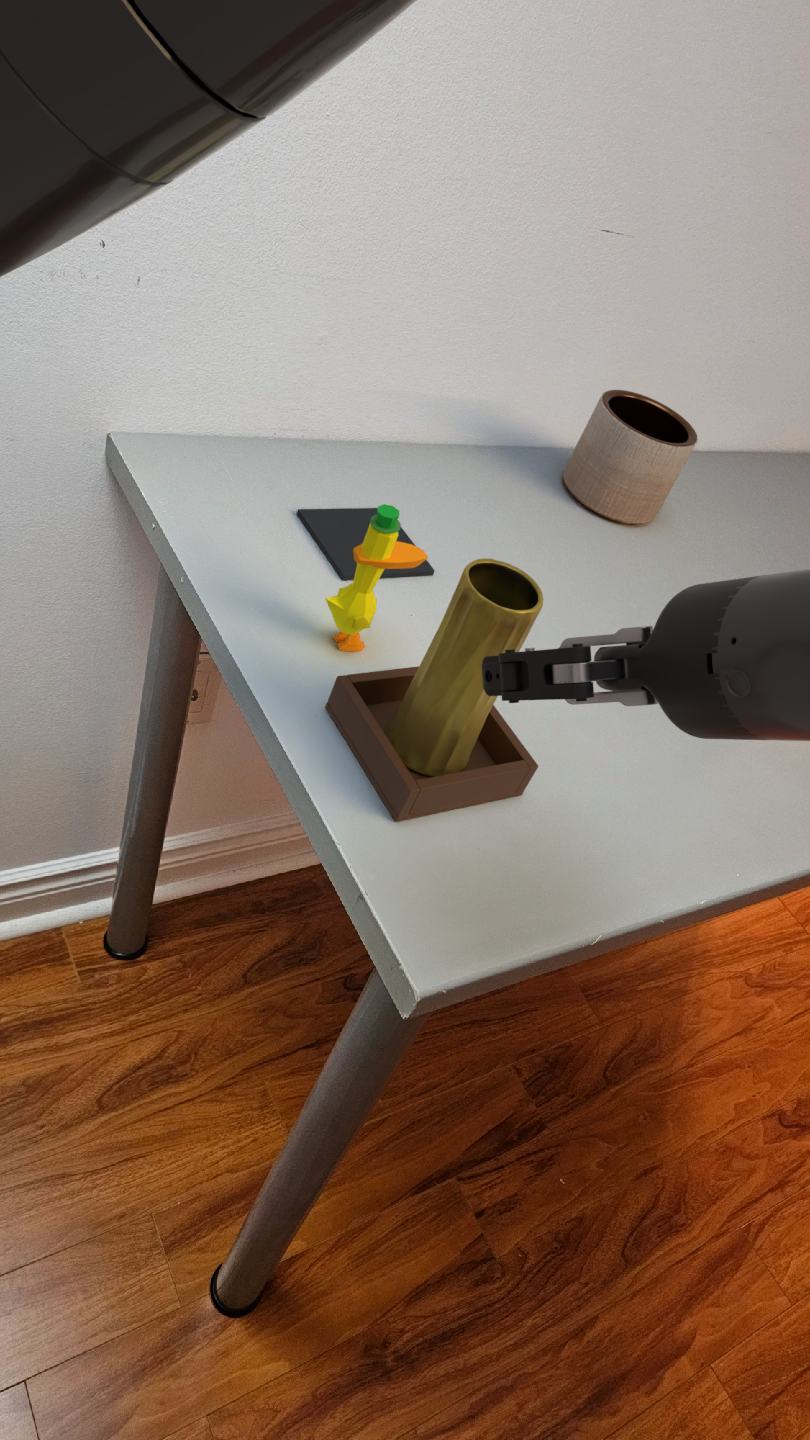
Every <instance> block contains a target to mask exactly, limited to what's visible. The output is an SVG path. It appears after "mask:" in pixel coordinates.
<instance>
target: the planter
mask: <svg viewBox="0 0 810 1440" xmlns="http://www.w3.org/2000/svg"><path fill="white" fill-rule="evenodd" d="M698 440H699V438H698V434H697V432H696V430H695V429H694V427H693V426H692V425H691V424H690V423H689V421H688V420H687V419H685V418H684V417H683V416H682V415H681V414H679V413H678V412H677V411H675V410H674V409H672V408H671V407H669V406H668V405H665V404H664V403H662V402H660V401H657V400H656V399H654V398H652V397H649V396H646V395H644V394H641V393H638V392H635V391H629V390H625V389H610V390H606V391H604V392H603V393H602V394H601V395H600V397H599V399H598V401H597V403H596V405H595V407H594V409H593V411H592V413H591V416H590V418H589V419H588V422H587V423H586V425H585V427H584V429H583V431H582V432H581V435H580V437H579V439H578V441H577V443H576V445H575V446H574V449H573V451H572V453H571V454H570V457H569V459H568V461H567V462H566V465H565V467H564V470H563V473H562V478H563V481H564V484H565V486H566V488H567V490H569V492H570V494H571V495H572V496H573V498H575V499H576V500H577V501H578V502H579V503H580V504H581V505H582V506H584V507H585V508H587V509H588V510H590V511H592V512H593V513H594V514H596V515H598V516H600V517H603V518H605V519H607V520H610V521H613V522H617V523H620V524H628V525H641V524H645V523H649V522H652V521H653V520H654V519H655V518H656V517H657V515H658V514H659V513H660V511H661V508H662V507H663V505H664V503H665V502H666V500H667V498H668V497H669V494H670V492H671V491H672V489H673V487H674V485H675V483H676V481H677V479H678V477H679V476H680V474H681V472H682V470H683V468H684V467H685V465H686V463H687V462H688V460H689V458H690V456H691V454H692V453H693V451H694V449H695V447H696V445H697V444H698Z"/></svg>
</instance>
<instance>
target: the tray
mask: <svg viewBox="0 0 810 1440" xmlns="http://www.w3.org/2000/svg"><path fill="white" fill-rule="evenodd" d="M419 666H420V665H419ZM419 666H411V667H402V668H393V669H385V670H376V671H368V672H367V671H366V672H359V673H351V674H341V675H337V676H336V678H335V681H334V683H333V686H332V688H331V691H330V694H329V697H328V699H327V702H326V703H325V707H324V708H325V709H326V711H327V712H328V714H329V716H330V717H331V719H332V721H333V722H334V724H335V725H336V727H337V729H338V731H339V732H340V734H341V736H342V737H343V739H344V741H345V742H346V745H348V747H349V749H350V750H351V753H352V754H353V755H354V757H355V758H356V760H357V762H358V763H359V765H360V767H361V768H362V770H363V771H364V773H365V774H366V776H367V778H368V779H369V781H370V783H371V784H372V786H373V787H374V789H375V791H376V793H377V794H378V796H379V798H380V799H381V801H382V802H383V804H384V806H385V807H386V809H387V811H388V812H389V814H390V816H391V817H392V819H393V820H394V822H395V823H397V822H402V821H407V820H413V819H416V818H420V817H425V816H430V815H435V814H440V813H445V812H449V811H454V810H458V809H462V808H467V807H472V806H477V805H483V804H486V803H490V802H496V801H501V800H506V799H509V798H516V797H520V796H522V795H523V793H524V792H525V790H526V788H527V787H528V785H529V783H530V782H531V780H532V778H533V777H534V775H535V773H536V772H537V770H538V768H539V764H538V763H537V762H536V760H535V759H534V758H533V756H532V755H531V754H530V752H529V751H528V750H527V748H526V747H525V745H524V744H523V743H522V741H521V739H519V737H518V736H517V734H516V733H515V732H514V730H513V729H512V728H511V726H510V725H509V724H508V722H507V721H506V720H505V718H504V717H503V716H502V714H501V713H500V711H499V710H498V709H497V708H496V706H495V704H493V706H492V708H491V710H490V712H489V714H488V716H487V718H486V720H485V723H484V725H483V727H482V729H481V732H480V734H479V736H478V738H477V741H476V743H475V745H474V747H473V749H472V752H471V754H470V757H469V762H468V763H467V765H466V766H465V768H464V769H463V770H462V771H460V772H457V773H452V774H447V775H441V776H436V777H431V776H426V775H423V774H420V773H417V772H415V771H413V770H411V769H409V768H408V767H406V766H405V765H404V763H403V762H402V760H401V759H400V757H399V755H398V754H397V752H396V751H395V749H394V748H393V746H392V745H391V743H390V741H389V740H388V738H387V737H386V735H385V730H386V727H387V724H388V723H389V721H390V720H391V719H392V717H393V716H394V715H395V714H396V712H397V710H398V708H399V707H400V705H401V703H402V701H403V699H404V696H405V694H406V692H407V690H408V688H409V686H410V684H411V682H412V680H413V678H414V676H415V674H416V672H417V670H418V668H419Z"/></svg>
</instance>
